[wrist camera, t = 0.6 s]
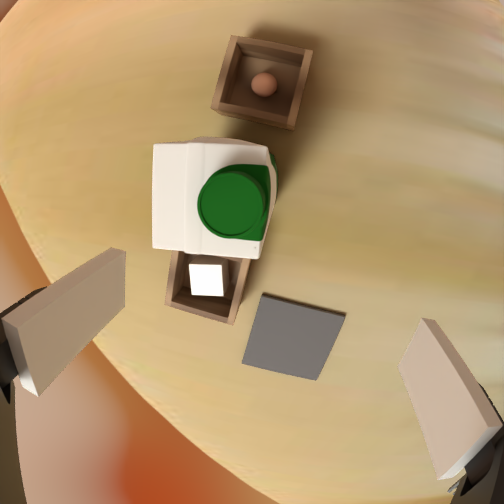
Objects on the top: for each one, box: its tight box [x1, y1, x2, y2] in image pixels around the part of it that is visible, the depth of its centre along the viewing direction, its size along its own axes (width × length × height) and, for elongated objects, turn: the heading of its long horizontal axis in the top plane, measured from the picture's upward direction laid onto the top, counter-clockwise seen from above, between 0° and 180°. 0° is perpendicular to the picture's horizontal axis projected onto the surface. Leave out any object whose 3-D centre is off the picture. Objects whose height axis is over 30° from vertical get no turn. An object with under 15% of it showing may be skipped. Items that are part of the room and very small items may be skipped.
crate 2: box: [211, 35, 313, 131], centre depth 30 cm, size 9×9×6 cm
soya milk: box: [152, 137, 278, 259], centre depth 27 cm, size 9×9×20 cm
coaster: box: [242, 294, 345, 380], centre depth 42 cm, size 12×12×1 cm
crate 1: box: [165, 250, 252, 325], centre depth 38 cm, size 9×9×6 cm
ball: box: [251, 73, 277, 97], centre depth 31 cm, size 3×3×3 cm
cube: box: [189, 254, 229, 296], centre depth 38 cm, size 4×4×4 cm
